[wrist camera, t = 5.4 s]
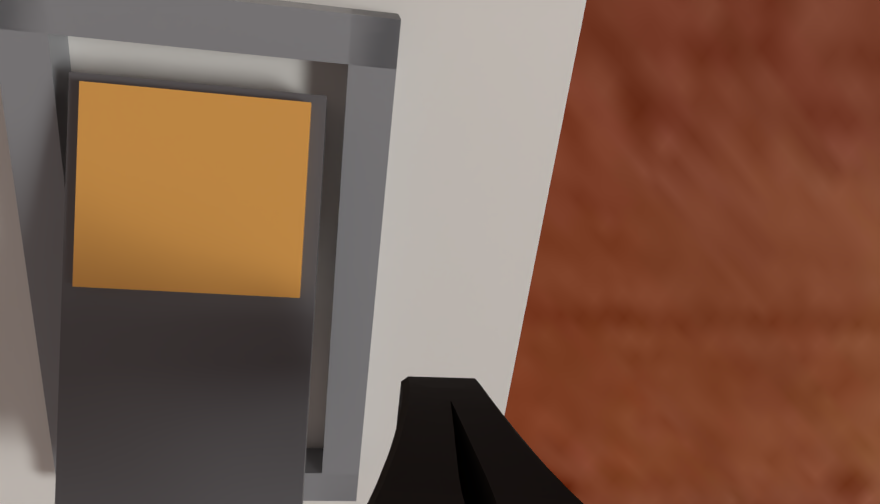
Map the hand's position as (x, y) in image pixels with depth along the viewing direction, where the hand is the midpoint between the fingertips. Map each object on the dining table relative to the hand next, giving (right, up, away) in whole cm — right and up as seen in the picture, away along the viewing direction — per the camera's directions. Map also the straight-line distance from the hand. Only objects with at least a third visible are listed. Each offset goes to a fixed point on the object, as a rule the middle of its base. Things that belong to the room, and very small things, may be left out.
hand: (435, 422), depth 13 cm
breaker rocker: (-5, +2, +2) cm, 6 cm away
